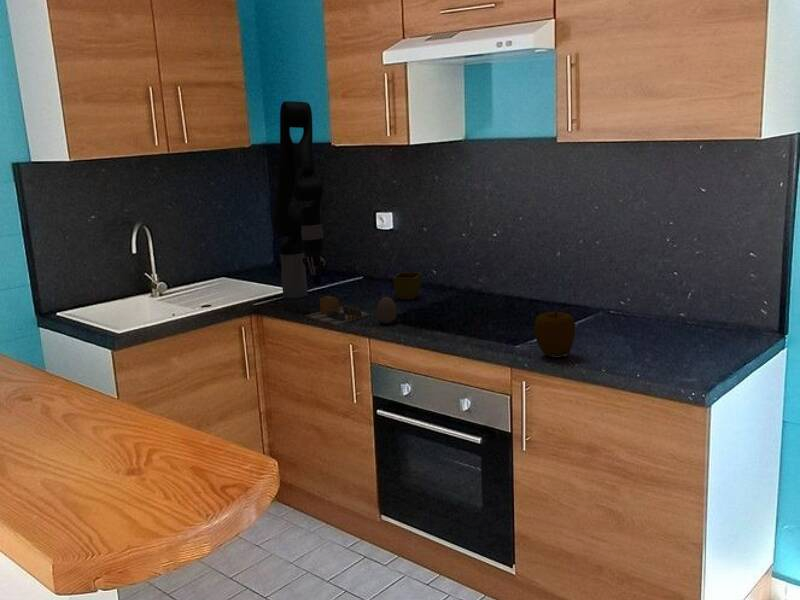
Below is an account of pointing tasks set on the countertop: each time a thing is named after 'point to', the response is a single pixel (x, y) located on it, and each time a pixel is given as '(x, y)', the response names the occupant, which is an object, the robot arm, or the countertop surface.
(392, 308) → the egg
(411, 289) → the flower pot
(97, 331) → the countertop surface
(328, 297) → the plug block
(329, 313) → the header board
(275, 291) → the countertop surface
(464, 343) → the countertop surface
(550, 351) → the apple
